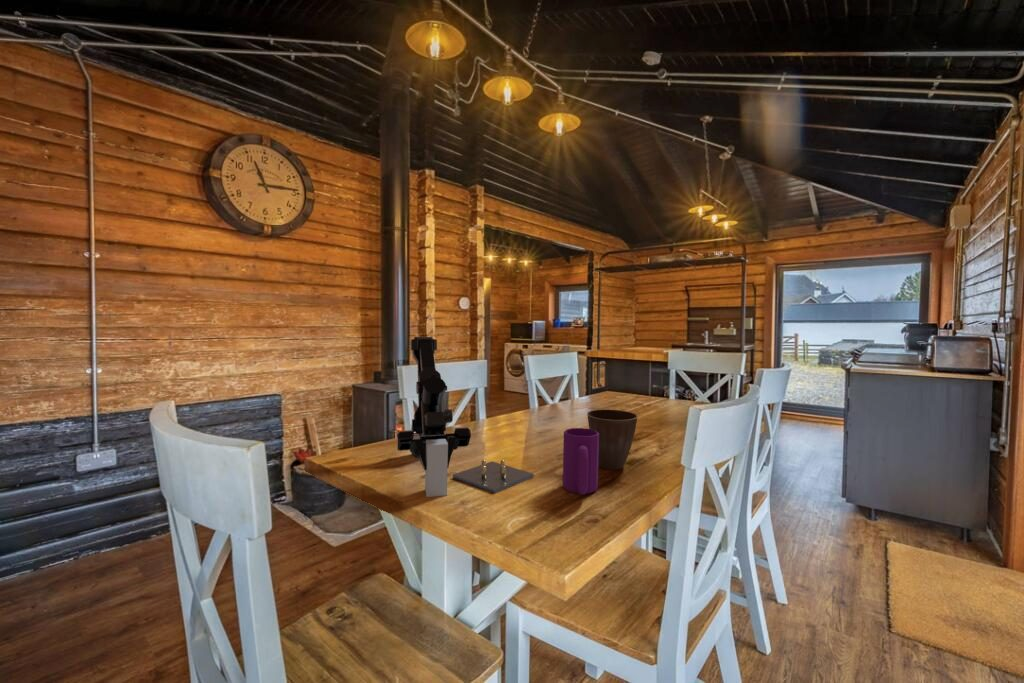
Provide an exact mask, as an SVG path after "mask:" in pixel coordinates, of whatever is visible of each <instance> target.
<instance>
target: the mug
mask: <svg viewBox="0 0 1024 683" xmlns="http://www.w3.org/2000/svg"><path fill="white" fill-rule="evenodd" d="M562 450H563V453H562V455H563V457H562V486H563V488H564V489H565V490H566V491H568V492H570V493H573V494H579V495H587V494H592V493H593V492H597V489H598V485H599V464H598V456H599V433H598V432H597V431H595V430H591V429H589V428H583V427H573V428H567V429H565V430H564V431H563V448H562Z"/></svg>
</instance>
